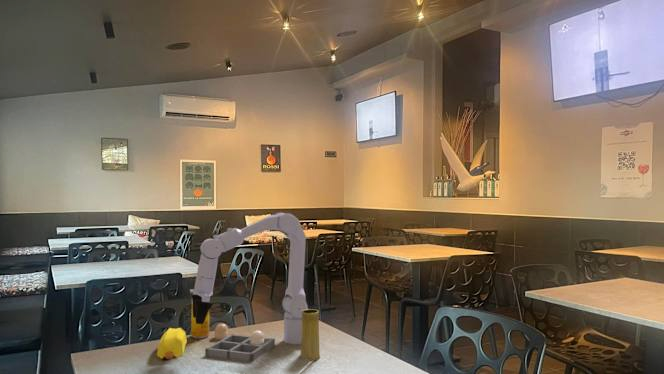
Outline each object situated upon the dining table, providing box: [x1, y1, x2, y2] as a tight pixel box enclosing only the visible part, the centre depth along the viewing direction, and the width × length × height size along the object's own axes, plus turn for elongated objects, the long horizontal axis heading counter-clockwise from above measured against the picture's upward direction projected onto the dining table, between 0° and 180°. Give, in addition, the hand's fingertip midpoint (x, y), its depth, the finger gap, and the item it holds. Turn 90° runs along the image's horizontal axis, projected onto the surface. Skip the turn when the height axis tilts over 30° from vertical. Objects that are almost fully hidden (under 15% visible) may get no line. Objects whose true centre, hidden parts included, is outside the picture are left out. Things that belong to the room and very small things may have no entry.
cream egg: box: [249, 329, 265, 345], centre depth 152 cm, size 4×4×6 cm
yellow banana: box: [156, 327, 188, 360], centre depth 150 cm, size 18×7×8 cm
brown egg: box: [214, 322, 229, 341], centre depth 163 cm, size 4×4×6 cm
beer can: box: [190, 293, 211, 340], centre depth 167 cm, size 6×6×15 cm
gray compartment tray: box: [204, 333, 276, 363], centre depth 149 cm, size 16×16×3 cm
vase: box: [300, 308, 321, 362], centre depth 146 cm, size 6×6×14 cm
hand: (197, 320), depth 148 cm, fingers open, 7 cm apart
